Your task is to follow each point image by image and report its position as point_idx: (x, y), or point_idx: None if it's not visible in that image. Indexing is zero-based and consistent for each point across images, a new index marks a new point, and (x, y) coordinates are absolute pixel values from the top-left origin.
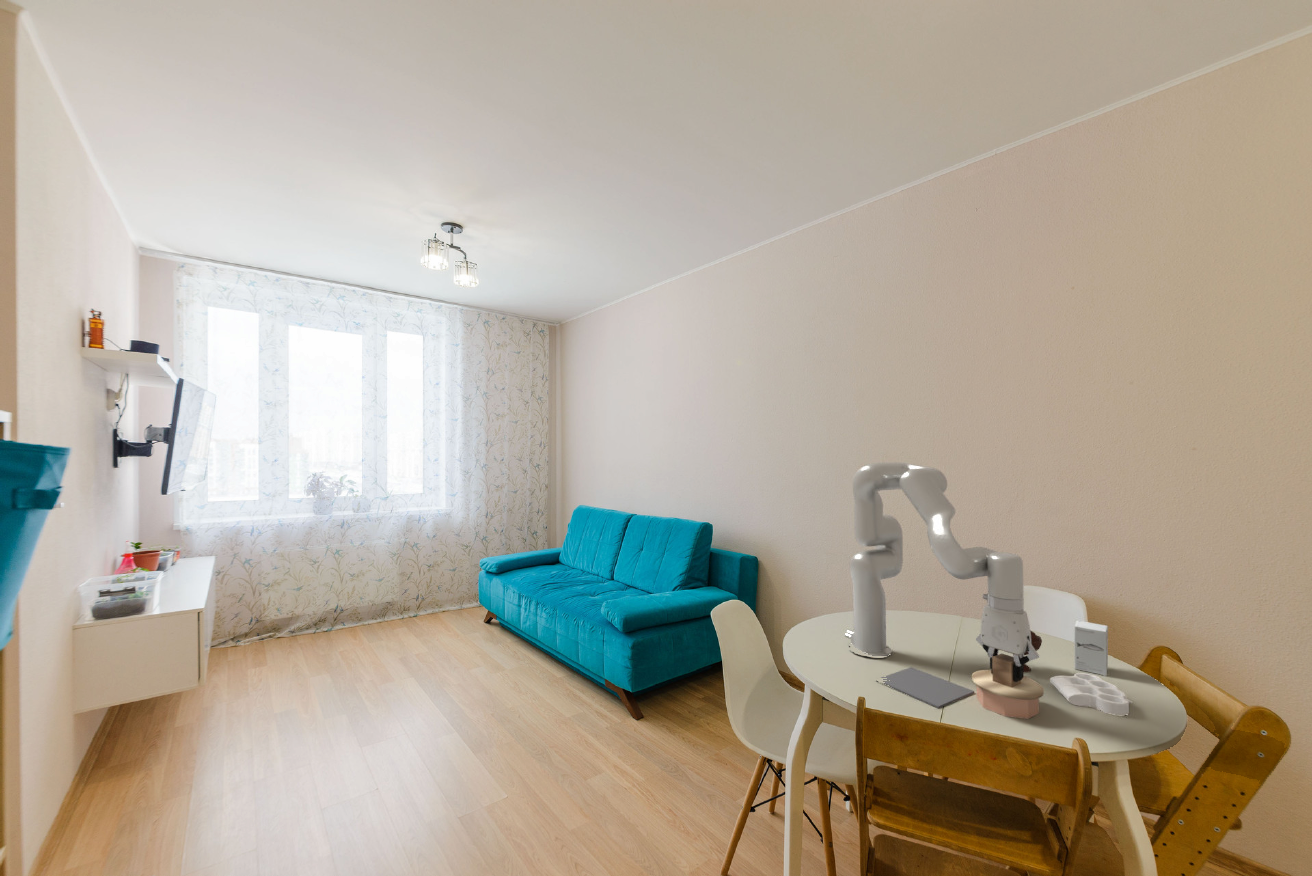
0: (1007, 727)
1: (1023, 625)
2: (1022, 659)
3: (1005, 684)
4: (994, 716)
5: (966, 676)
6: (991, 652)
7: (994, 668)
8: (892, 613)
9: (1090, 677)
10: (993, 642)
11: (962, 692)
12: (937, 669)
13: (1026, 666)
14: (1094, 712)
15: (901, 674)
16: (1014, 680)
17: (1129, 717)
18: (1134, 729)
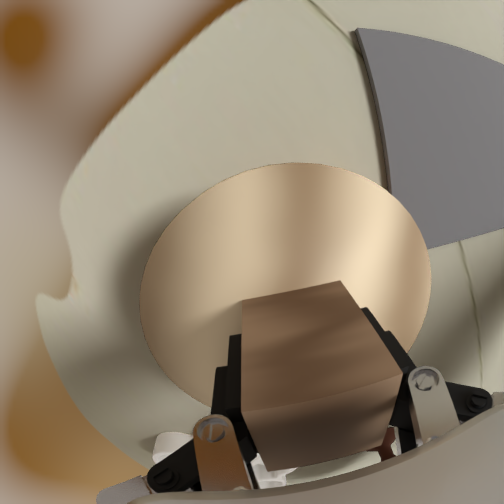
0: (159, 130)
1: None
2: (188, 471)
3: (274, 297)
4: (237, 156)
5: (444, 322)
6: (425, 401)
7: (355, 324)
8: None
9: (268, 486)
10: (449, 492)
11: (407, 207)
12: (493, 282)
13: (370, 449)
14: (177, 421)
15: None
16: (233, 335)
17: (150, 439)
18: (107, 410)
